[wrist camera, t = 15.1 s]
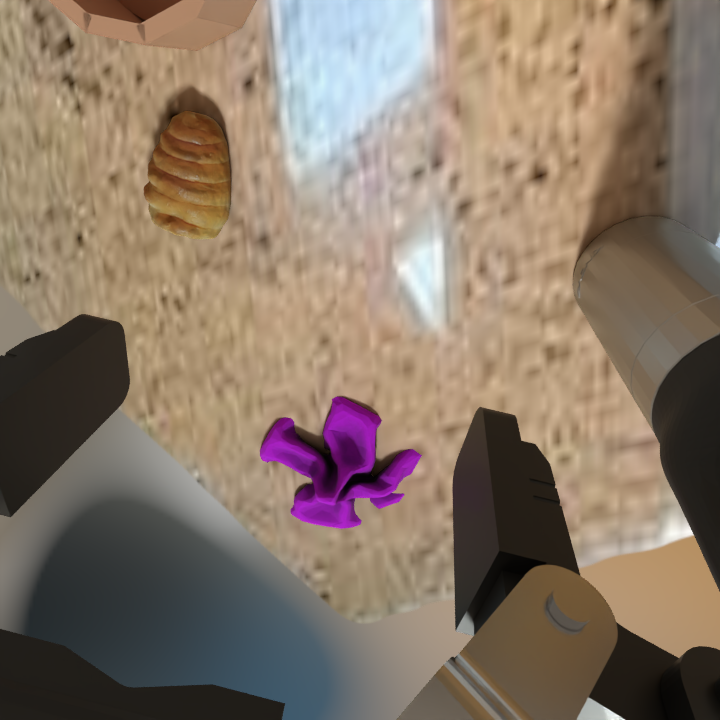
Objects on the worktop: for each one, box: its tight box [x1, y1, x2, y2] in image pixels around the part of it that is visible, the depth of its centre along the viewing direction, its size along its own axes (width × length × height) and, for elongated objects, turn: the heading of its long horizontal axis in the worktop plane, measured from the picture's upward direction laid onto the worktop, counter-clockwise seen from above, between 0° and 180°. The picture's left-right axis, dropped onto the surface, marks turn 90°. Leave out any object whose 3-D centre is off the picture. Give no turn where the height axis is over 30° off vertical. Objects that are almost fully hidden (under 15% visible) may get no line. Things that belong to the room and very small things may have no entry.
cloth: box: [260, 397, 422, 528], centre depth 51 cm, size 22×19×6 cm
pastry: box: [144, 111, 231, 239], centre depth 37 cm, size 9×7×4 cm
